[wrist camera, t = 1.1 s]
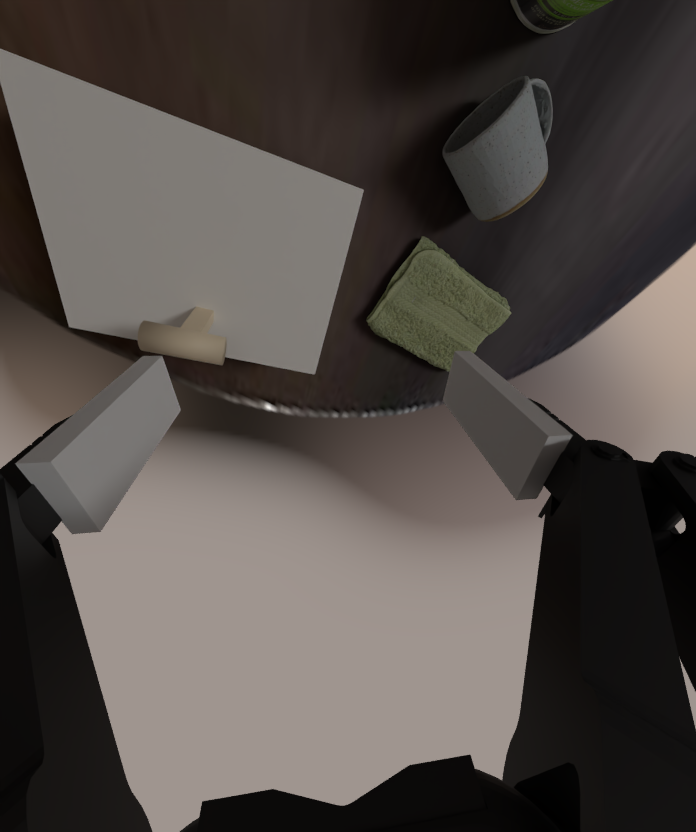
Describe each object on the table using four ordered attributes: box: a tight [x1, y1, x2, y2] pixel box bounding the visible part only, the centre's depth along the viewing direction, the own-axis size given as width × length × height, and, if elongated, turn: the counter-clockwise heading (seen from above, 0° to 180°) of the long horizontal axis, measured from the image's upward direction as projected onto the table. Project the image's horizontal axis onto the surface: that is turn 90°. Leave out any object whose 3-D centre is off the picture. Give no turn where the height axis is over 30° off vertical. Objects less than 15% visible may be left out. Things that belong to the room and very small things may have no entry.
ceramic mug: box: [442, 76, 553, 222], centre depth 28 cm, size 11×8×8 cm
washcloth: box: [366, 236, 511, 372], centre depth 41 cm, size 13×18×3 cm
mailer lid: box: [0, 49, 364, 374], centre depth 24 cm, size 18×24×9 cm
